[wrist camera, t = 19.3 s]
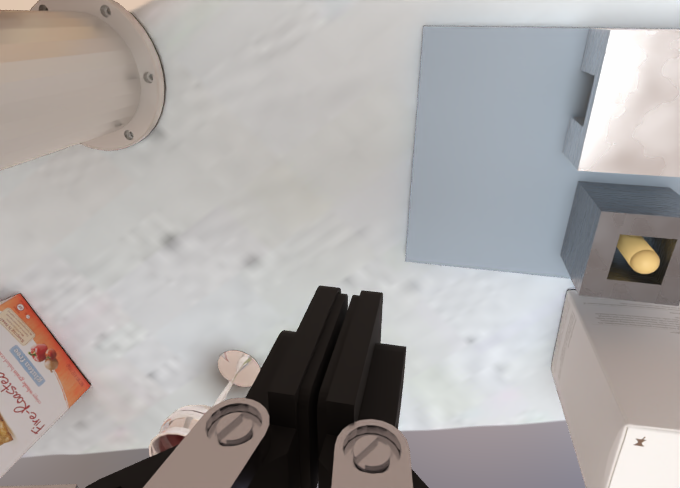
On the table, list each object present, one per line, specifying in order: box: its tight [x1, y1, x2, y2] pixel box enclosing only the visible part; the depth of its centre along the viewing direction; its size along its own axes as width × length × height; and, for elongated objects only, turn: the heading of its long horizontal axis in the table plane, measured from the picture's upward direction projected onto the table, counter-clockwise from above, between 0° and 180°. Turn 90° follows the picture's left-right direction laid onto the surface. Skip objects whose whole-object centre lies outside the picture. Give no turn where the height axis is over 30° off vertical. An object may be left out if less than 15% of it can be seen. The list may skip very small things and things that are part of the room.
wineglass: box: [149, 350, 260, 457], centre depth 46 cm, size 7×7×12 cm
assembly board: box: [405, 26, 680, 279], centre depth 32 cm, size 20×18×9 cm
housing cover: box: [563, 28, 680, 177], centre depth 29 cm, size 7×8×4 cm
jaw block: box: [560, 181, 680, 306], centre depth 32 cm, size 6×6×6 cm
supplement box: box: [551, 290, 680, 488], centre depth 34 cm, size 9×9×15 cm
